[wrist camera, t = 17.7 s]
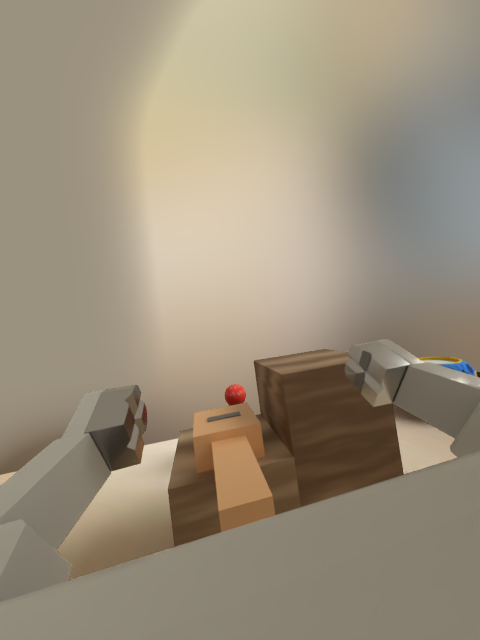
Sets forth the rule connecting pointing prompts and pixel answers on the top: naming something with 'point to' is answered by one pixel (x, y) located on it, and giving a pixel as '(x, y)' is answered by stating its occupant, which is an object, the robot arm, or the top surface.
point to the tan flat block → (233, 463)
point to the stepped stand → (296, 442)
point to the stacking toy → (235, 395)
